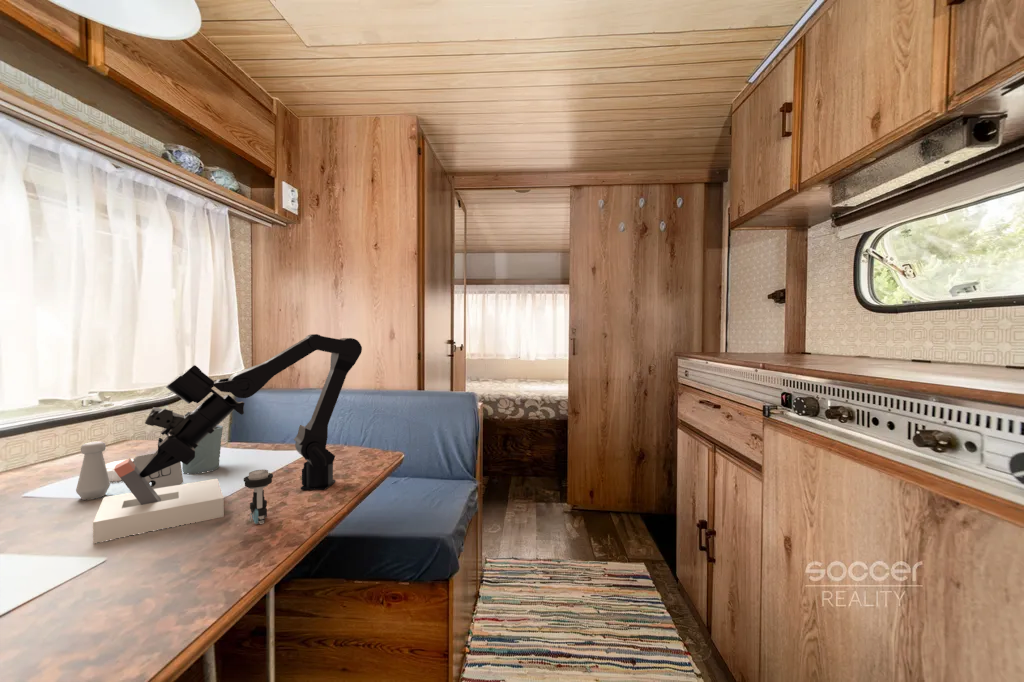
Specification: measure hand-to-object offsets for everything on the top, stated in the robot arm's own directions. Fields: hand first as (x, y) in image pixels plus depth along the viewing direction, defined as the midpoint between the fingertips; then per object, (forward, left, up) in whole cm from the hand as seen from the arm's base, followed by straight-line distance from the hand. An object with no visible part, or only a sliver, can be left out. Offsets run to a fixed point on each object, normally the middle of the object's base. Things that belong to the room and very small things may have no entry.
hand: (141, 475), depth 89 cm
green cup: (+13, -35, -9) cm, 39 cm away
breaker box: (-3, -2, -9) cm, 10 cm away
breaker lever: (-1, -1, -6) cm, 6 cm away
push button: (-24, 0, -9) cm, 26 cm away
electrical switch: (+13, -19, -10) cm, 25 cm away
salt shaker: (+23, -13, -9) cm, 28 cm away
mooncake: (+30, -30, -10) cm, 44 cm away
